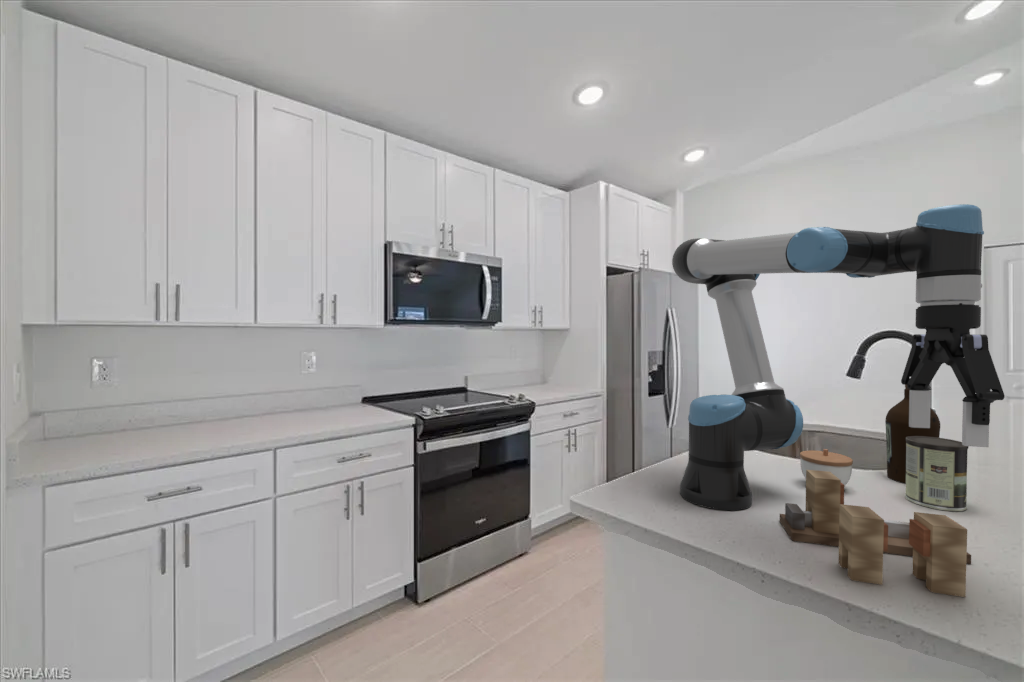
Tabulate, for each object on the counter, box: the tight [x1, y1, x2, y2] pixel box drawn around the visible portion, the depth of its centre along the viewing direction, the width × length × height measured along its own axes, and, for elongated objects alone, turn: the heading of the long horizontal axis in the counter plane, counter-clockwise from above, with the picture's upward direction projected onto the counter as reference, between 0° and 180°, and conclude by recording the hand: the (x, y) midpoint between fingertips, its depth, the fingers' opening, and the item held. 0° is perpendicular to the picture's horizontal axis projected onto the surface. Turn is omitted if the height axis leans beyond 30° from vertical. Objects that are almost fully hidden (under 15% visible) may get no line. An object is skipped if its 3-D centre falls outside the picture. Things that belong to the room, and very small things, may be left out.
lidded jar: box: [799, 448, 854, 487], centre depth 111 cm, size 11×11×9 cm
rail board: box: [779, 502, 972, 565], centre depth 83 cm, size 26×9×4 cm, turn 72°
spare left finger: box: [837, 503, 888, 586], centre depth 71 cm, size 5×5×10 cm
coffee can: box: [904, 436, 969, 512], centre depth 101 cm, size 10×10×14 cm
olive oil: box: [884, 385, 941, 484], centre depth 116 cm, size 11×11×25 cm
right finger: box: [908, 511, 968, 598], centre depth 68 cm, size 5×5×10 cm
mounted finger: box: [804, 470, 845, 534], centre depth 85 cm, size 5×5×10 cm
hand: (944, 436), depth 72 cm, fingers open, 13 cm apart
